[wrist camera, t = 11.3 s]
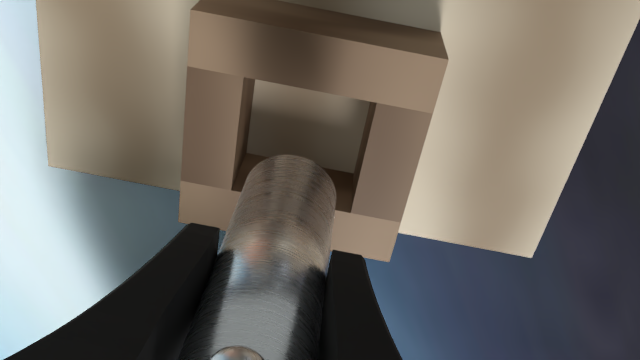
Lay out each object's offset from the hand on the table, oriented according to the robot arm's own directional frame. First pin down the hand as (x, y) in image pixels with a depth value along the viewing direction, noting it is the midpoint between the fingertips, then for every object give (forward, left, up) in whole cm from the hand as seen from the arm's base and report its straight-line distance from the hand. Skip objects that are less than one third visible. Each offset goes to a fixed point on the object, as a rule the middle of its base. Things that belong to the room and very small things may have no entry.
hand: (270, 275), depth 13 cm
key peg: (0, 0, -3) cm, 3 cm away
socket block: (0, 0, -8) cm, 8 cm away
